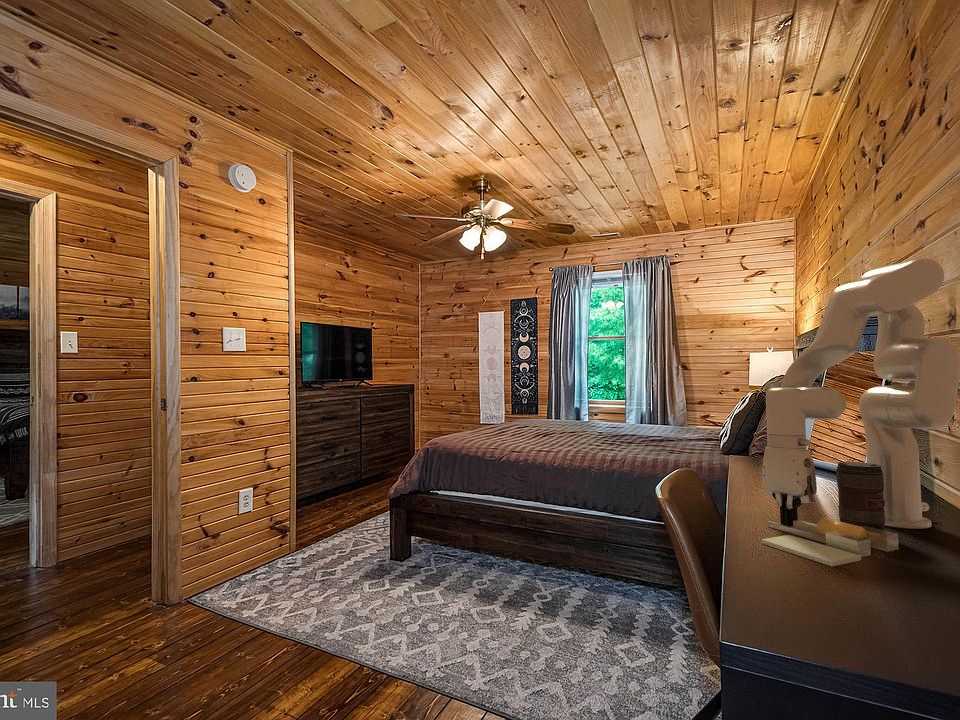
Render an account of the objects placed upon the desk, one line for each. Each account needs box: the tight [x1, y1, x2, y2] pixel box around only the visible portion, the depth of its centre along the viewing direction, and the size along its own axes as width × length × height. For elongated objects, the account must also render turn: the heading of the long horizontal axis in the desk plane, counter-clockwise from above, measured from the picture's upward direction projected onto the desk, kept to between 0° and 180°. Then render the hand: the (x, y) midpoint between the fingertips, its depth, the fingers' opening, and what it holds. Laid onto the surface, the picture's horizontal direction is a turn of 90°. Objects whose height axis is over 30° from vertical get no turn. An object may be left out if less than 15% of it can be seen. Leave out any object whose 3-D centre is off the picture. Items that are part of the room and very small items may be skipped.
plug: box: [792, 517, 866, 538], centre depth 104 cm, size 4×13×4 cm, turn 22°
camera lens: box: [835, 461, 885, 531], centre depth 108 cm, size 8×8×15 cm
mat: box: [761, 534, 862, 567], centre depth 97 cm, size 8×14×1 cm, turn 22°
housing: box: [767, 520, 900, 558], centre depth 105 cm, size 12×21×3 cm, turn 22°
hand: (789, 524), depth 112 cm, fingers closed
